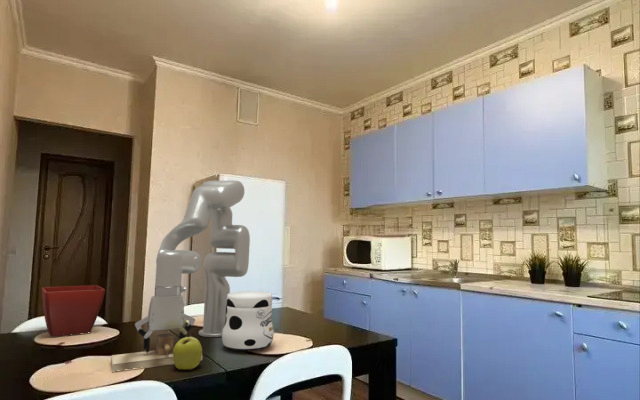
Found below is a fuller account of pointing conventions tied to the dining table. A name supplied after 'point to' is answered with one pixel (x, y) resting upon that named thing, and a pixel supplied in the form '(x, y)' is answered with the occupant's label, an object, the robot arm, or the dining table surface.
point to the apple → (187, 353)
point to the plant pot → (71, 308)
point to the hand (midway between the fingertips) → (164, 349)
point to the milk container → (248, 321)
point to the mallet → (164, 344)
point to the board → (140, 360)
